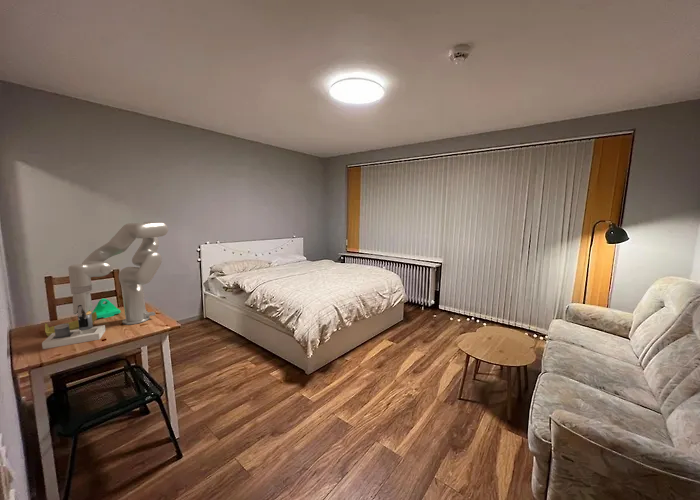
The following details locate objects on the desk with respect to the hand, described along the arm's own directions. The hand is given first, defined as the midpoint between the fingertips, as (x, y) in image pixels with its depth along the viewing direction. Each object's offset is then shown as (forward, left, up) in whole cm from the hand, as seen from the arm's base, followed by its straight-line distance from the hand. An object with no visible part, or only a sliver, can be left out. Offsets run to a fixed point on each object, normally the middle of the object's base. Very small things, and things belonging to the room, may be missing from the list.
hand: (85, 324), depth 141 cm
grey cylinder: (+9, 0, -7) cm, 11 cm away
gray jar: (0, 0, -2) cm, 2 cm away
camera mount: (-1, -35, -8) cm, 36 cm away
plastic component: (+10, -17, -8) cm, 21 cm away
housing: (+4, 0, -7) cm, 8 cm away
